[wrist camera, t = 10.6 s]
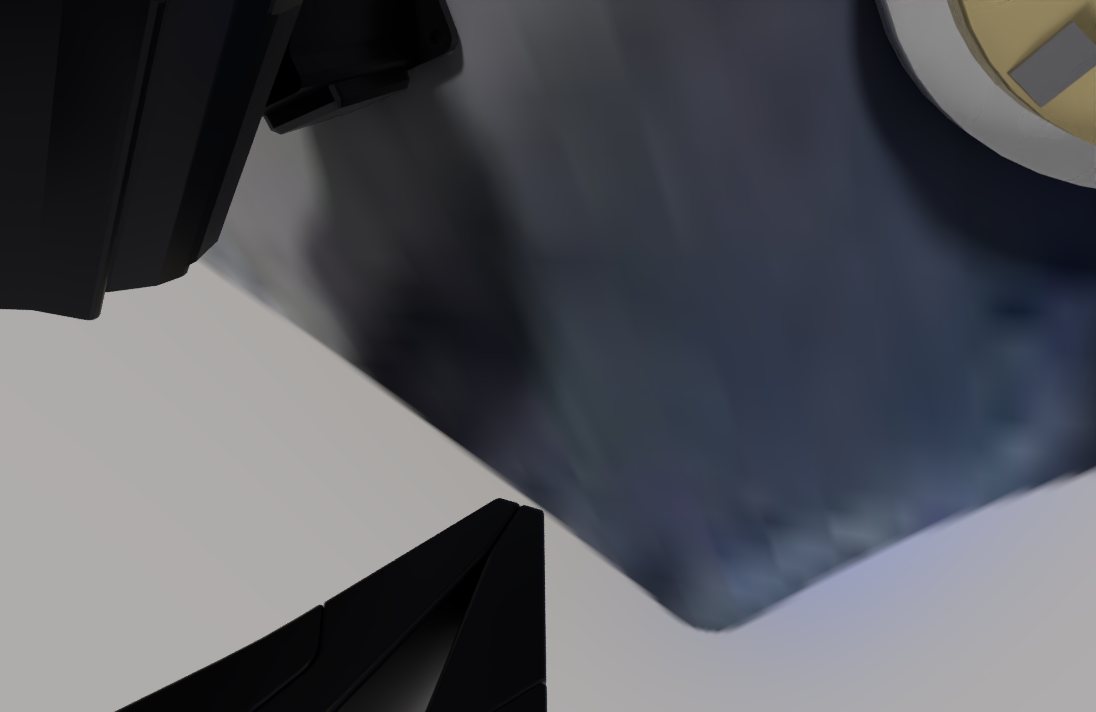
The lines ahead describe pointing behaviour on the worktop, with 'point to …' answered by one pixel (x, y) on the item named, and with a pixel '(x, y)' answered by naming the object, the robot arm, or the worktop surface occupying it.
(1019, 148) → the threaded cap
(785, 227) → the worktop surface
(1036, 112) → the gold dial with handle
